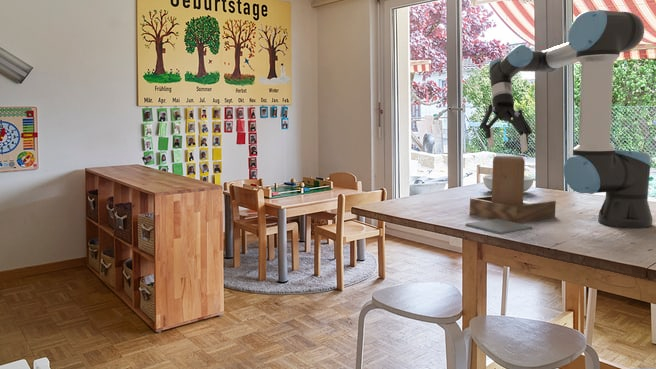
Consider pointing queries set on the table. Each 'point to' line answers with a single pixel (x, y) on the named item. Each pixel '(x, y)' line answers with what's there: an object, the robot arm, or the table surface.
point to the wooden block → (508, 180)
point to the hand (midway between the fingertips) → (508, 149)
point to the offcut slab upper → (527, 202)
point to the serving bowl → (527, 182)
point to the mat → (498, 226)
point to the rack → (511, 210)
